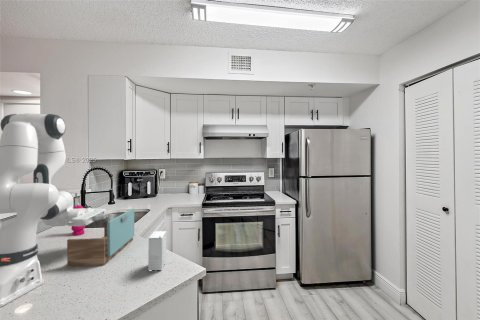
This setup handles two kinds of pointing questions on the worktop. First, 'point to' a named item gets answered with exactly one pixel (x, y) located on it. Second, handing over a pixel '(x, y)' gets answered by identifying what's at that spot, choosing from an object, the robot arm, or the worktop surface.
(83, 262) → the box
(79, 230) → the pepper mill
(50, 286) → the worktop surface
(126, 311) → the worktop surface
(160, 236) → the skincare box
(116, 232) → the tailgate
